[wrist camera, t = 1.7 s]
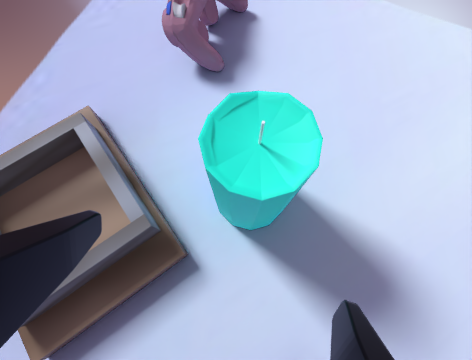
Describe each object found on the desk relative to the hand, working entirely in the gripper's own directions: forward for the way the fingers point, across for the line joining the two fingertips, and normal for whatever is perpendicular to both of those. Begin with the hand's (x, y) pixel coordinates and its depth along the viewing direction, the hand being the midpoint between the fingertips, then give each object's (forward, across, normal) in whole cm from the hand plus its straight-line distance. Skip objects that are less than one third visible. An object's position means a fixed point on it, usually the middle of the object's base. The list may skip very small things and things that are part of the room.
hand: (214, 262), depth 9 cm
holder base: (+8, +13, +9) cm, 18 cm away
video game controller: (+24, +10, -6) cm, 27 cm away
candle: (+13, 0, +4) cm, 14 cm away
